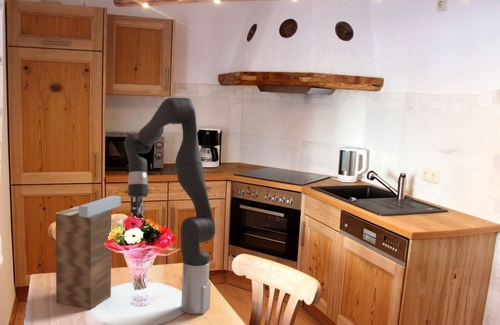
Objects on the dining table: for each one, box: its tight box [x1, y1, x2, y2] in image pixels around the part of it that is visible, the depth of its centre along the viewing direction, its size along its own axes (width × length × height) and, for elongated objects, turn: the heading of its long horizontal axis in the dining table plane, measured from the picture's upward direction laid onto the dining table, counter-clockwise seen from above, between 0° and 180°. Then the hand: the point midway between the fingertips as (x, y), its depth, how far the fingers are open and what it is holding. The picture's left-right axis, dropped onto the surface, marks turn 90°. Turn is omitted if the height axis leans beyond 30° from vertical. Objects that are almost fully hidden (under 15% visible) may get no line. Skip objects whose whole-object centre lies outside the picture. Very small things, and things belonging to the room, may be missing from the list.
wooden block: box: [55, 205, 112, 310], centre depth 170 cm, size 14×12×32 cm
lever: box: [78, 195, 122, 217], centre depth 170 cm, size 4×20×4 cm, turn 162°
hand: (137, 226), depth 185 cm, fingers open, 8 cm apart
